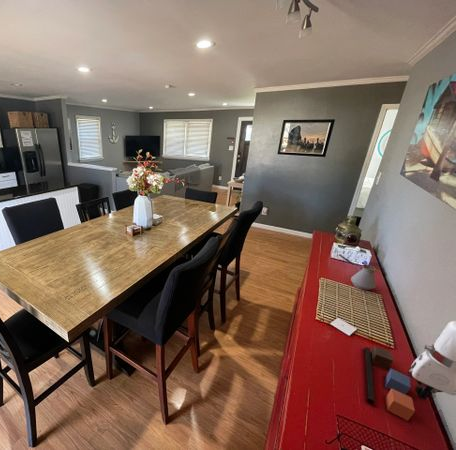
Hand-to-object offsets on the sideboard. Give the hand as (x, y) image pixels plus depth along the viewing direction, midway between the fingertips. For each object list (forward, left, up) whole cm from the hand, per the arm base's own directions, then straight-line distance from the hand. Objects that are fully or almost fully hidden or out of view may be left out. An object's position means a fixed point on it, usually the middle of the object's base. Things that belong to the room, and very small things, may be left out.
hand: (420, 394), depth 82 cm
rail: (+14, 0, -2) cm, 14 cm away
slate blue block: (+6, 0, -2) cm, 6 cm away
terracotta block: (+7, +10, -2) cm, 12 cm away
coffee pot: (+19, -70, -2) cm, 73 cm away
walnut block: (+10, -10, -2) cm, 14 cm away
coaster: (+22, -23, -2) cm, 32 cm away
